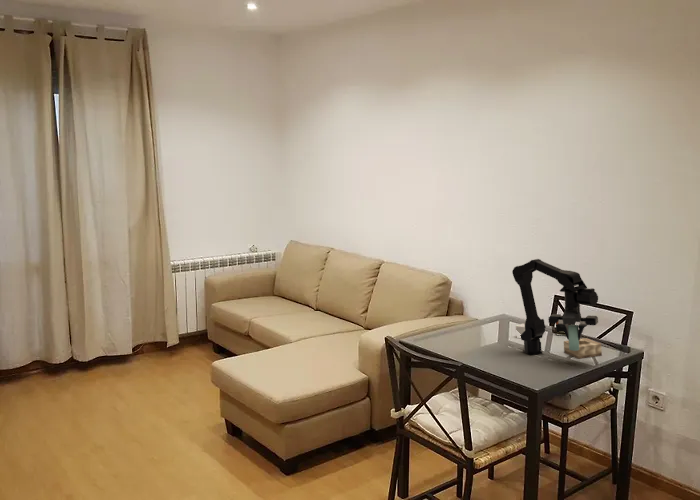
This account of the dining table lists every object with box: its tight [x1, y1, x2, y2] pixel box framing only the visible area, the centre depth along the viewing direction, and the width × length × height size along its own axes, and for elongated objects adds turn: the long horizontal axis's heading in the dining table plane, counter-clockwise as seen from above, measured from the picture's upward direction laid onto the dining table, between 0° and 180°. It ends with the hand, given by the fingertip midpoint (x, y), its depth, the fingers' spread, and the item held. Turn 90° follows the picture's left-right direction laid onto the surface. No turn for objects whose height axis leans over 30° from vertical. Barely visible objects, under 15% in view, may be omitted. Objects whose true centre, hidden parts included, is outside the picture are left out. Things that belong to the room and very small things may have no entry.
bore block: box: [563, 337, 603, 360], centre depth 265 cm, size 11×11×5 cm
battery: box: [555, 315, 571, 332], centre depth 297 cm, size 4×7×10 cm, turn 76°
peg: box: [568, 324, 579, 351], centre depth 254 cm, size 4×4×10 cm
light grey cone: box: [515, 323, 525, 334], centre depth 299 cm, size 6×6×6 cm
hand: (573, 339), depth 254 cm, fingers closed on peg, 4 cm apart
